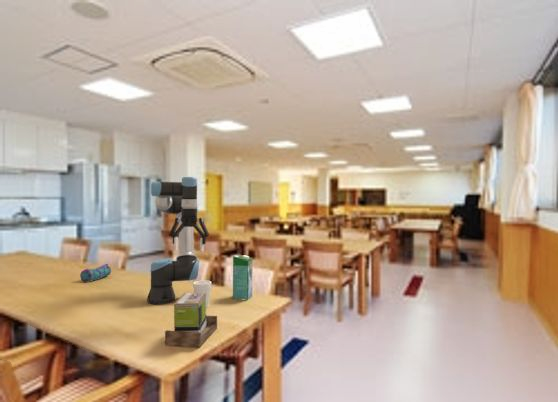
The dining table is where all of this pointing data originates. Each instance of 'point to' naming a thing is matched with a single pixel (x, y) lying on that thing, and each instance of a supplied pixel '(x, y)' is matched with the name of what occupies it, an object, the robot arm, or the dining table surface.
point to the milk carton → (242, 277)
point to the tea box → (190, 313)
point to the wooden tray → (191, 335)
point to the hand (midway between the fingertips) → (189, 250)
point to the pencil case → (95, 273)
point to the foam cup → (203, 289)
